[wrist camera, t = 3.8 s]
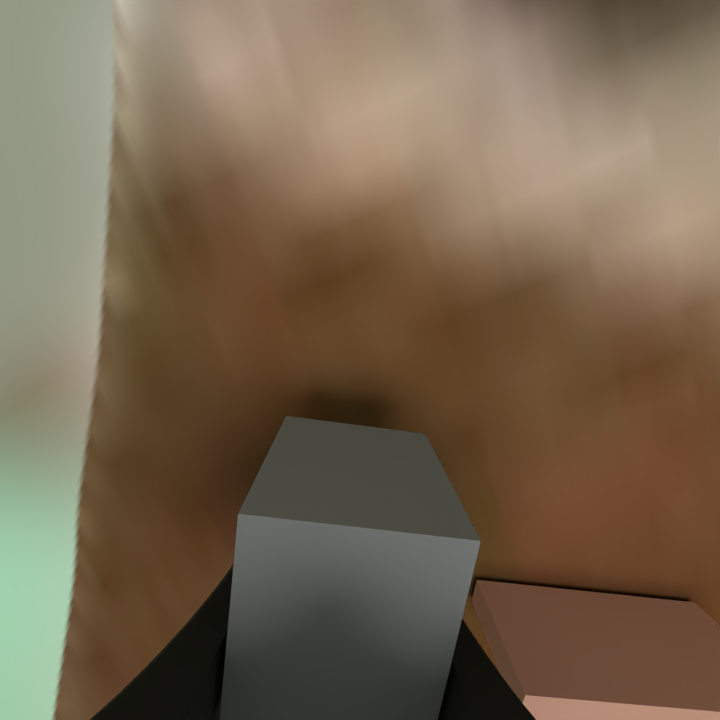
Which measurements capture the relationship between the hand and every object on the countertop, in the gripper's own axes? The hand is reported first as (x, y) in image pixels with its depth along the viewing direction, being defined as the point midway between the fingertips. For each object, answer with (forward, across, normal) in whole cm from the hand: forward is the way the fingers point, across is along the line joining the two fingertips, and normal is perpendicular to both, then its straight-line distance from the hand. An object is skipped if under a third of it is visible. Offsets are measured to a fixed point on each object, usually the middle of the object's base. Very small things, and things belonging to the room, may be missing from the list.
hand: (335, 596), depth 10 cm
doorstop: (+2, 0, 0) cm, 2 cm away
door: (+6, -13, +5) cm, 15 cm away
